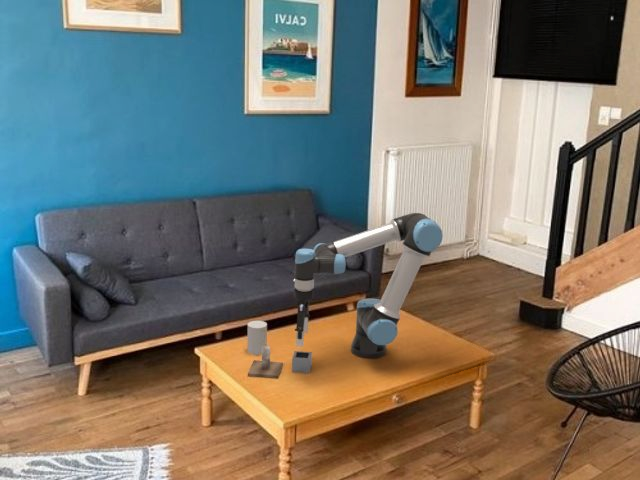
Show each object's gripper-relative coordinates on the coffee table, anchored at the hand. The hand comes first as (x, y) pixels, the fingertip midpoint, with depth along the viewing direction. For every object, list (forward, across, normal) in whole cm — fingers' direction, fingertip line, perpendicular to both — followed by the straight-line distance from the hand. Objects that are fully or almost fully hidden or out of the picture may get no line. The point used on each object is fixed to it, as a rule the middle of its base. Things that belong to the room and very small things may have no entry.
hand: (302, 339), depth 269 cm
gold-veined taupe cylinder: (+13, -14, -21) cm, 28 cm away
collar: (+13, 0, 0) cm, 13 cm away
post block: (+13, +4, -14) cm, 19 cm away
